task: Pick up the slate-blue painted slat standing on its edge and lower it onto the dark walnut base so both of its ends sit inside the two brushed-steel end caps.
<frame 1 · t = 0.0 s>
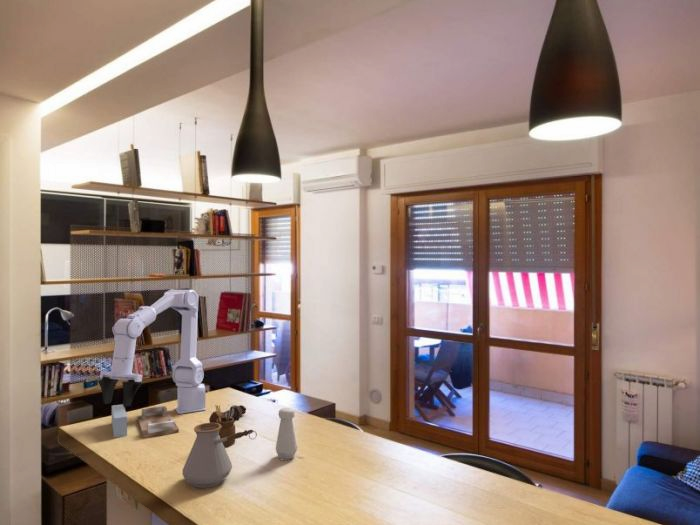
hand: (116, 404, 137), 11 cm above the table, tool pointing down, fingers open, 7 cm apart
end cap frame: (157, 425, 149), on the table
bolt: (230, 422, 154), on the table
coffee pot: (221, 486, 108), on the table
slat: (118, 429, 146), on the table
salt shaker: (286, 457, 124), on the table
utensil holder: (224, 444, 134), on the table
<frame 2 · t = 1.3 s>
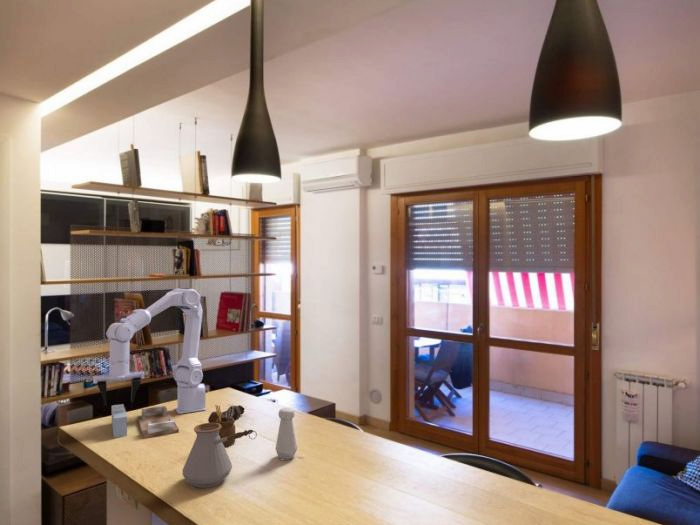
hand: (119, 403, 146), 8 cm above the table, tool pointing down, fingers open, 7 cm apart
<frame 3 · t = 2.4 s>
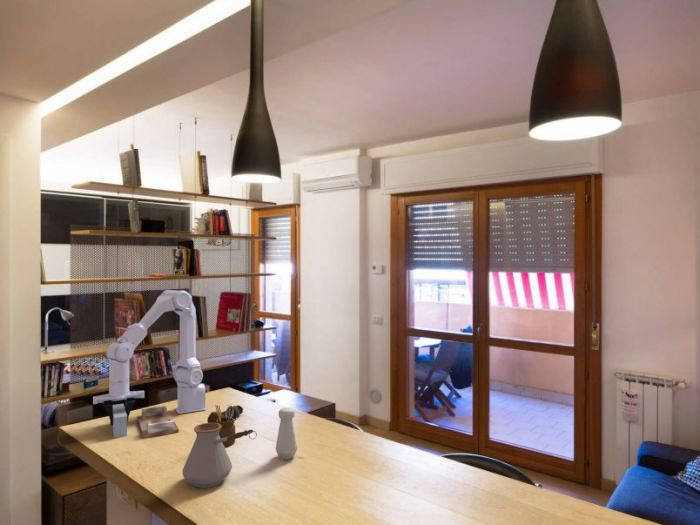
hand: (119, 423, 146), 2 cm above the table, tool pointing down, fingers closed on slat, 3 cm apart
slat: (118, 429, 146), on the table, touching gripper
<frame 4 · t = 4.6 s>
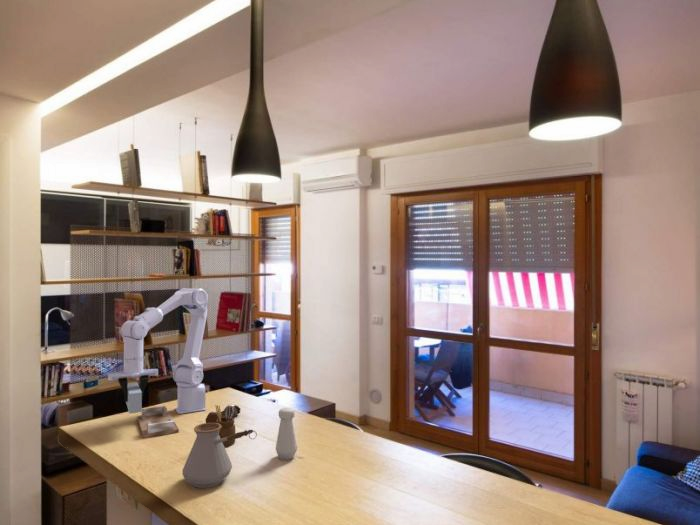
hand: (133, 400, 148), 9 cm above the table, tool pointing down, fingers closed on slat, 3 cm apart
slat: (133, 406, 147), point 7 cm above the table, touching gripper
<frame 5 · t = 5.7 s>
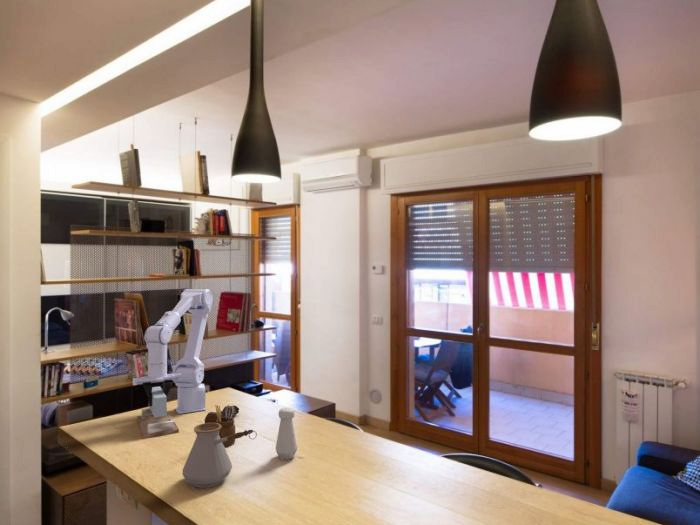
hand: (157, 404, 150), 7 cm above the table, tool pointing down, fingers closed on slat, 3 cm apart
slat: (157, 410, 149), point 5 cm above the table, touching gripper
when the fingers open (4 cm above the table, at t = 6.7 s): slat stays where it is, resting on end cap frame.
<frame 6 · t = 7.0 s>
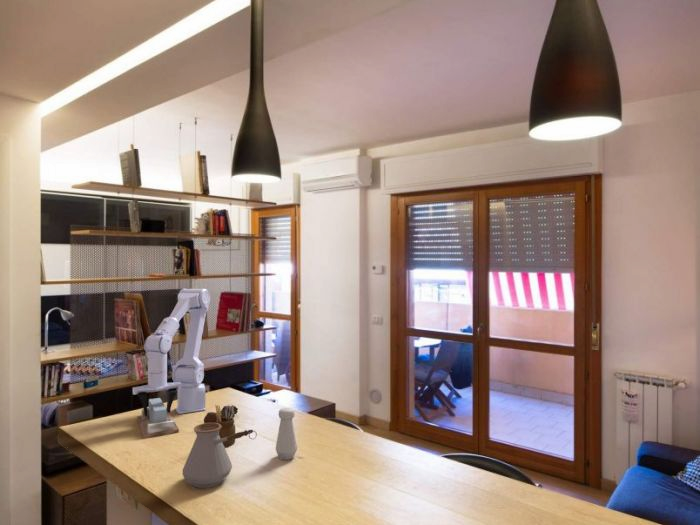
hand: (157, 413, 149), 4 cm above the table, tool pointing down, fingers open, 6 cm apart
slat: (157, 422, 149), point 1 cm above the table, touching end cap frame
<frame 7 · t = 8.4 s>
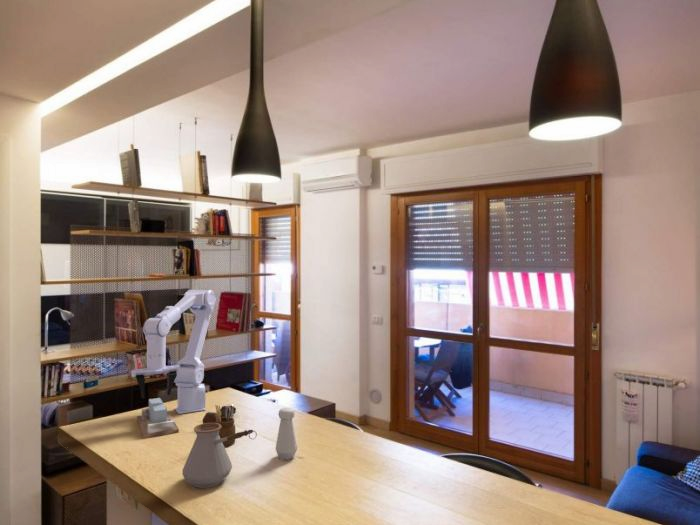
hand: (156, 396, 150), 9 cm above the table, tool pointing down, fingers open, 7 cm apart
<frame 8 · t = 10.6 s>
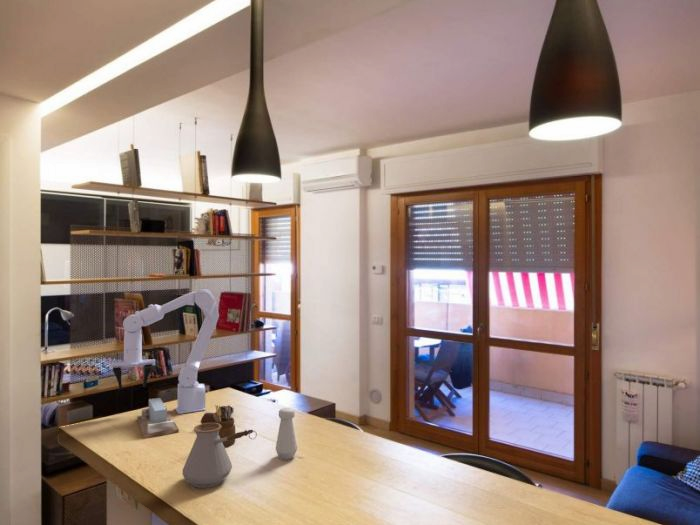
hand: (132, 387, 161), 9 cm above the table, tool pointing down, fingers open, 7 cm apart
at the end: slat 0.0 cm off-centre on the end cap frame, point 1.0 cm above the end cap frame's base; slat tilted 0°; the gripper is holding nothing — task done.
